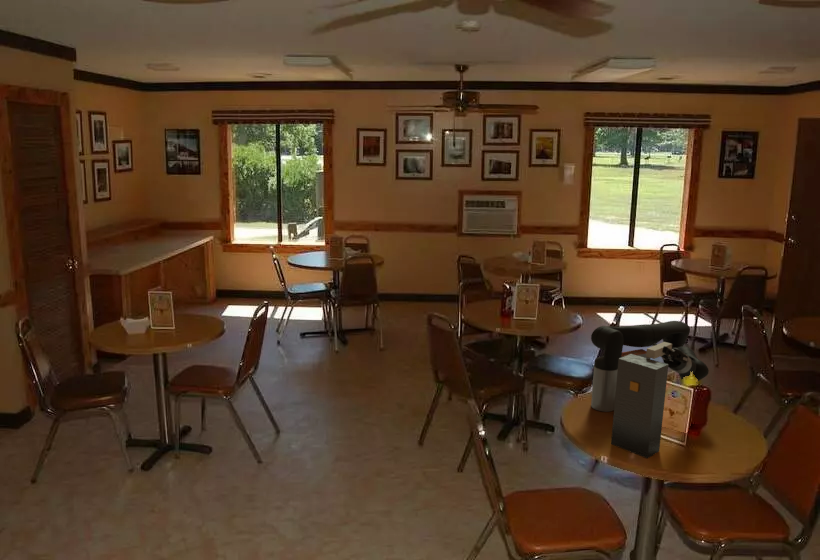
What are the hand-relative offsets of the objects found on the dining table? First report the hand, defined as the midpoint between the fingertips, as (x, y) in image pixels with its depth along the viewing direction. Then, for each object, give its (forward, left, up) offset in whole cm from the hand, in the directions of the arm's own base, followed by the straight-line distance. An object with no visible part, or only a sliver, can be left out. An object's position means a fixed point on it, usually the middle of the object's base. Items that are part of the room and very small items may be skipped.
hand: (659, 347), depth 232 cm
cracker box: (-27, -24, -35) cm, 50 cm away
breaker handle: (0, 0, -2) cm, 3 cm away
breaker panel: (+10, 0, -35) cm, 36 cm away
